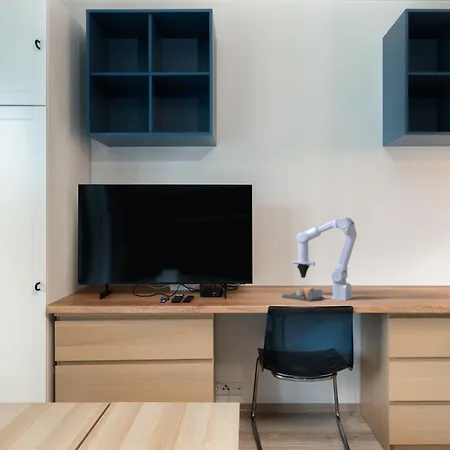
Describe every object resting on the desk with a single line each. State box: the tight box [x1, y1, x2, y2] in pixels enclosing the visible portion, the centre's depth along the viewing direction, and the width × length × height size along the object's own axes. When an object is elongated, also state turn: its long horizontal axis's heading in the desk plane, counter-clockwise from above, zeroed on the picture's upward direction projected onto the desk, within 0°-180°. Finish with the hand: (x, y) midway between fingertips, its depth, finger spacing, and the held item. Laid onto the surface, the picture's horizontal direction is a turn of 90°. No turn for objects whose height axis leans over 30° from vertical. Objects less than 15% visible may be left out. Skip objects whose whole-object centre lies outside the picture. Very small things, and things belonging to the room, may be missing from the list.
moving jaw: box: [295, 287, 305, 297], centre depth 237 cm, size 3×10×4 cm, turn 134°
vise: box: [281, 288, 325, 302], centre depth 238 cm, size 18×13×5 cm
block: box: [304, 287, 315, 298], centre depth 235 cm, size 4×4×5 cm
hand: (303, 277), depth 246 cm, fingers closed
